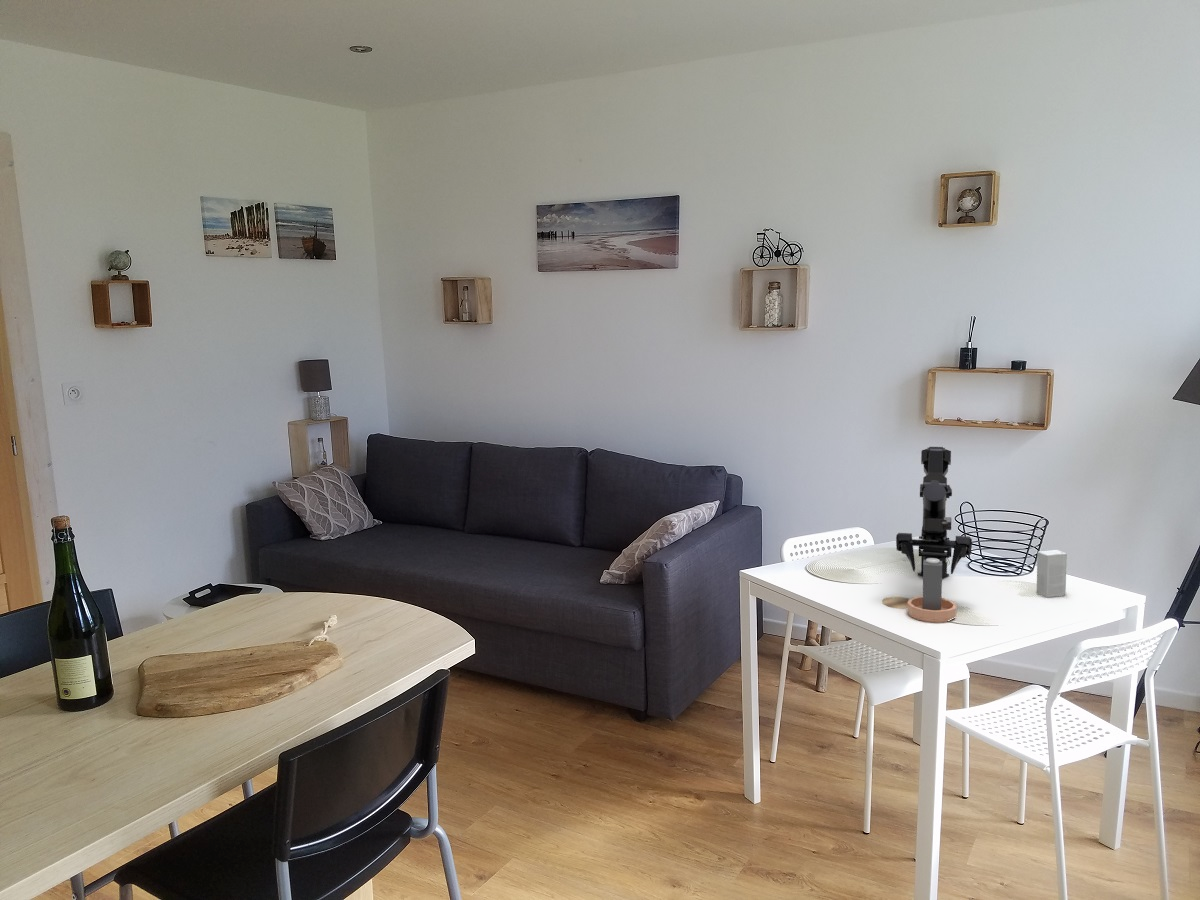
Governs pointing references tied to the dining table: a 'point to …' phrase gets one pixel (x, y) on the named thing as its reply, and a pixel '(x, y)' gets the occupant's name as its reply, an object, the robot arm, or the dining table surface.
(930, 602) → the canister
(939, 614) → the ring dish
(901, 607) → the cork coaster
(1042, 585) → the skincare box
